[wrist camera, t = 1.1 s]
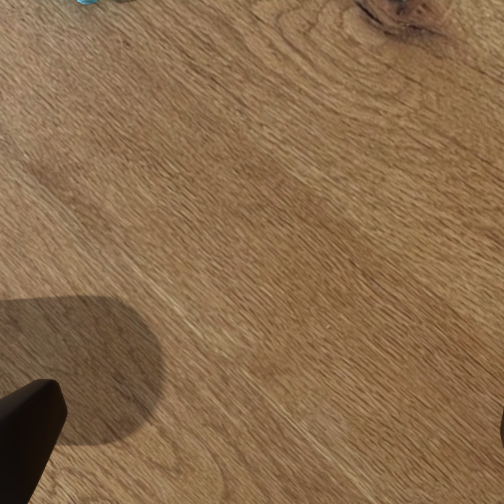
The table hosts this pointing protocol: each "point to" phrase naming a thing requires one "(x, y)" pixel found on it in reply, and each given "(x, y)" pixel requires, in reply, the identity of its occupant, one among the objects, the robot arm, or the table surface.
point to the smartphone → (87, 1)
